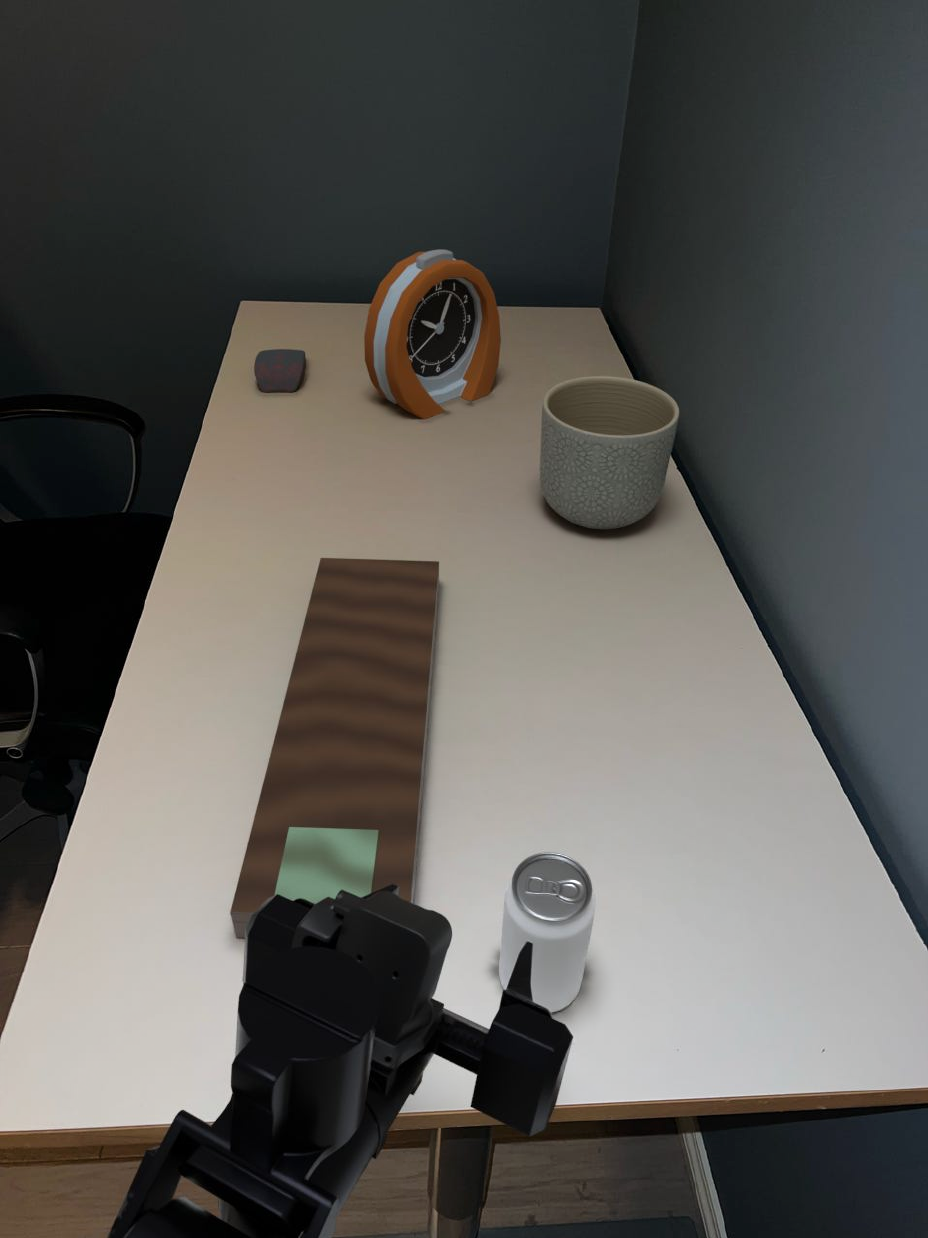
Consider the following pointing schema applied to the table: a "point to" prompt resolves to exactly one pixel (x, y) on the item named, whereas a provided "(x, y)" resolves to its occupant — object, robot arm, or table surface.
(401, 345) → the alarm clock
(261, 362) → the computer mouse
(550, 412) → the planter
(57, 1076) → the table surface
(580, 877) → the can
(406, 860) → the shelf
